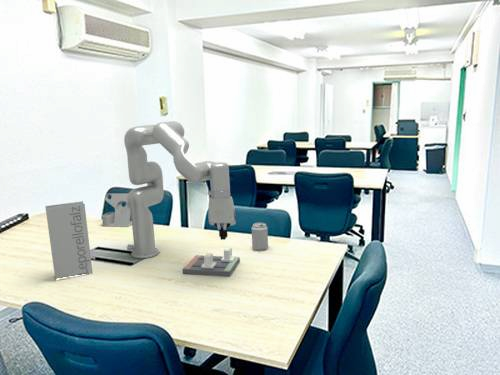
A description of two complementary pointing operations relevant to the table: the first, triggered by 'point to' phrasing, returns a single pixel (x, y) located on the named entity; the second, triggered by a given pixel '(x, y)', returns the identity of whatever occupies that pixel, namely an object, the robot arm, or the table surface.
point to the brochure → (69, 239)
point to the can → (259, 236)
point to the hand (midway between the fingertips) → (223, 238)
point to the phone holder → (117, 211)
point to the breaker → (228, 255)
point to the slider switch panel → (218, 270)
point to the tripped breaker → (209, 261)
